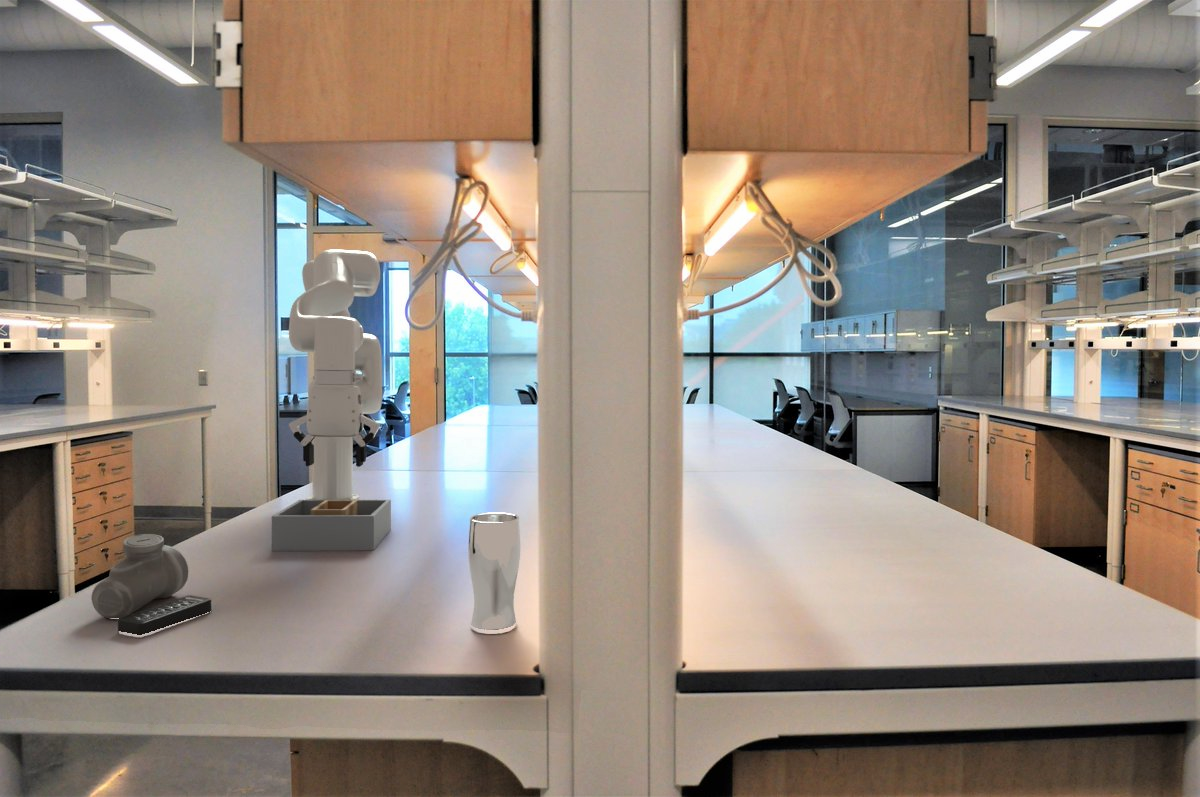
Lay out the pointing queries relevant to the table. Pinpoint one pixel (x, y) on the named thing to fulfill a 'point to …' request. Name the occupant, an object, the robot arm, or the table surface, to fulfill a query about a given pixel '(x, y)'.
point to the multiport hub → (164, 615)
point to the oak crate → (336, 508)
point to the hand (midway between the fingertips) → (334, 465)
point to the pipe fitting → (140, 576)
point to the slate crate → (330, 527)
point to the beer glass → (494, 568)
